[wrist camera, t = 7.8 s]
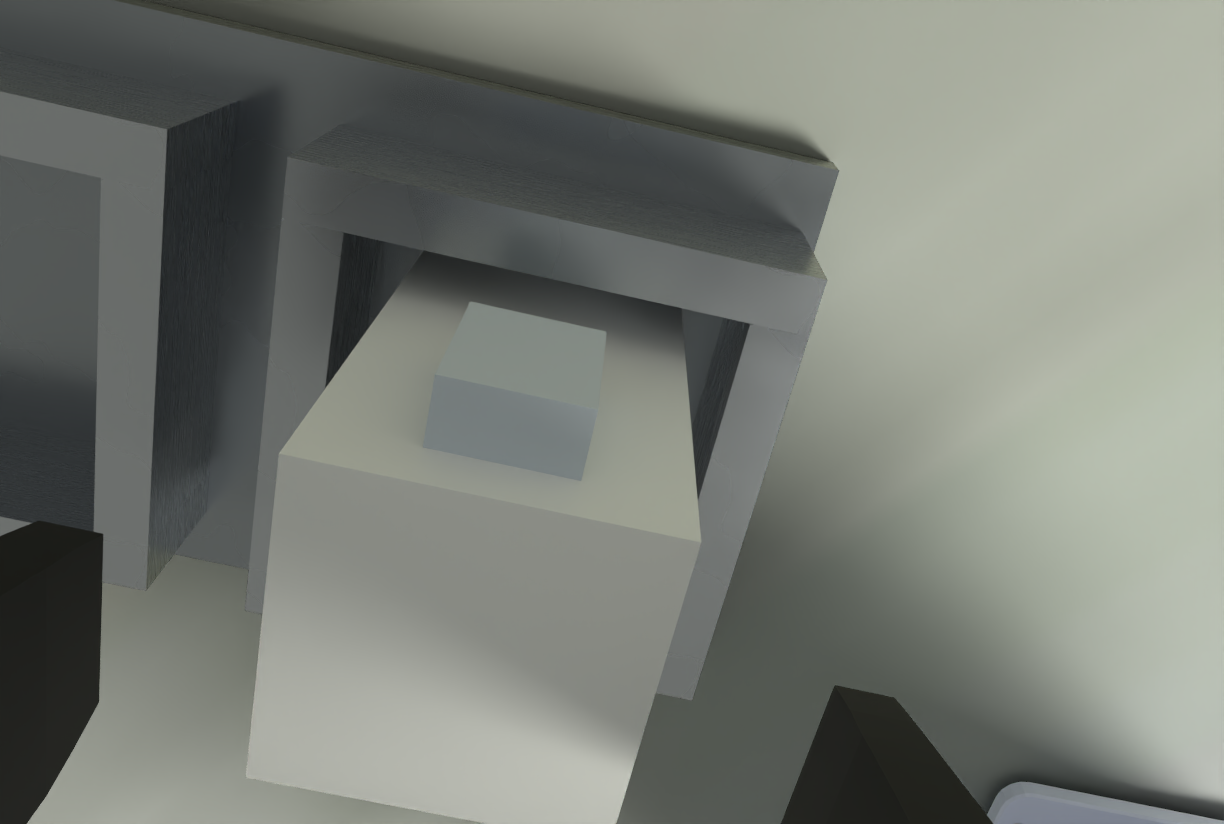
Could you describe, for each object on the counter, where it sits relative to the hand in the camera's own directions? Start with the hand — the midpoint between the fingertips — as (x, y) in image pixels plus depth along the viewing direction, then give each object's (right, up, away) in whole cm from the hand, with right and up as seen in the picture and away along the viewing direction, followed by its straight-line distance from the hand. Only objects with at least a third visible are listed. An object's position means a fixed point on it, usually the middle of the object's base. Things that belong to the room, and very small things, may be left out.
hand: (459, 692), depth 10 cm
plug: (0, +3, +7) cm, 7 cm away
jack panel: (-4, +4, +7) cm, 9 cm away
